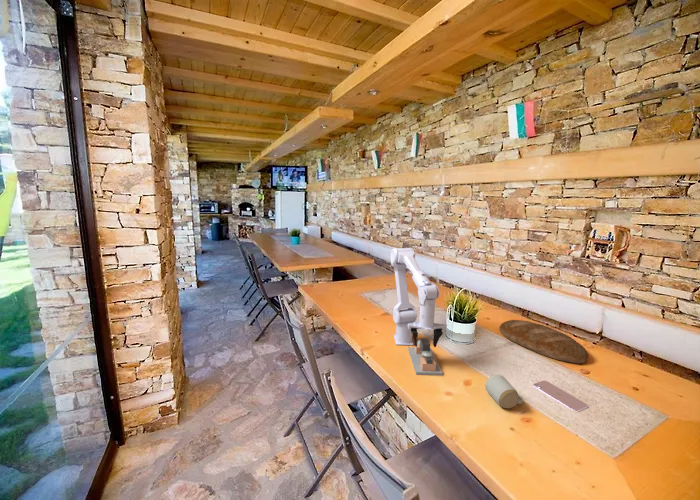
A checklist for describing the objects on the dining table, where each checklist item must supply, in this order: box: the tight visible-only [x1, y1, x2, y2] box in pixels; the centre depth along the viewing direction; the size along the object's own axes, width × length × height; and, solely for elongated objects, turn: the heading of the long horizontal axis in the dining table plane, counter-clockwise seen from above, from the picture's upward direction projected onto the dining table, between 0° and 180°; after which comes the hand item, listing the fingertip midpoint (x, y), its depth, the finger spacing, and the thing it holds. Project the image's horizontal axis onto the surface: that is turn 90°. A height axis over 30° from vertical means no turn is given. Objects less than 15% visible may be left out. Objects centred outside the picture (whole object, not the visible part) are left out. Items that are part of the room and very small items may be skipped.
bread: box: [498, 319, 589, 364], centre depth 137 cm, size 22×37×8 cm, turn 29°
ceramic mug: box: [484, 374, 524, 409], centre depth 98 cm, size 11×8×8 cm
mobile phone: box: [532, 380, 589, 412], centre depth 102 cm, size 8×1×15 cm
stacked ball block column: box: [417, 337, 432, 364], centre depth 121 cm, size 17×4×5 cm, turn 178°
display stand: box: [407, 341, 444, 376], centre depth 121 cm, size 19×10×5 cm, turn 178°
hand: (425, 345), depth 121 cm, fingers open, 7 cm apart
